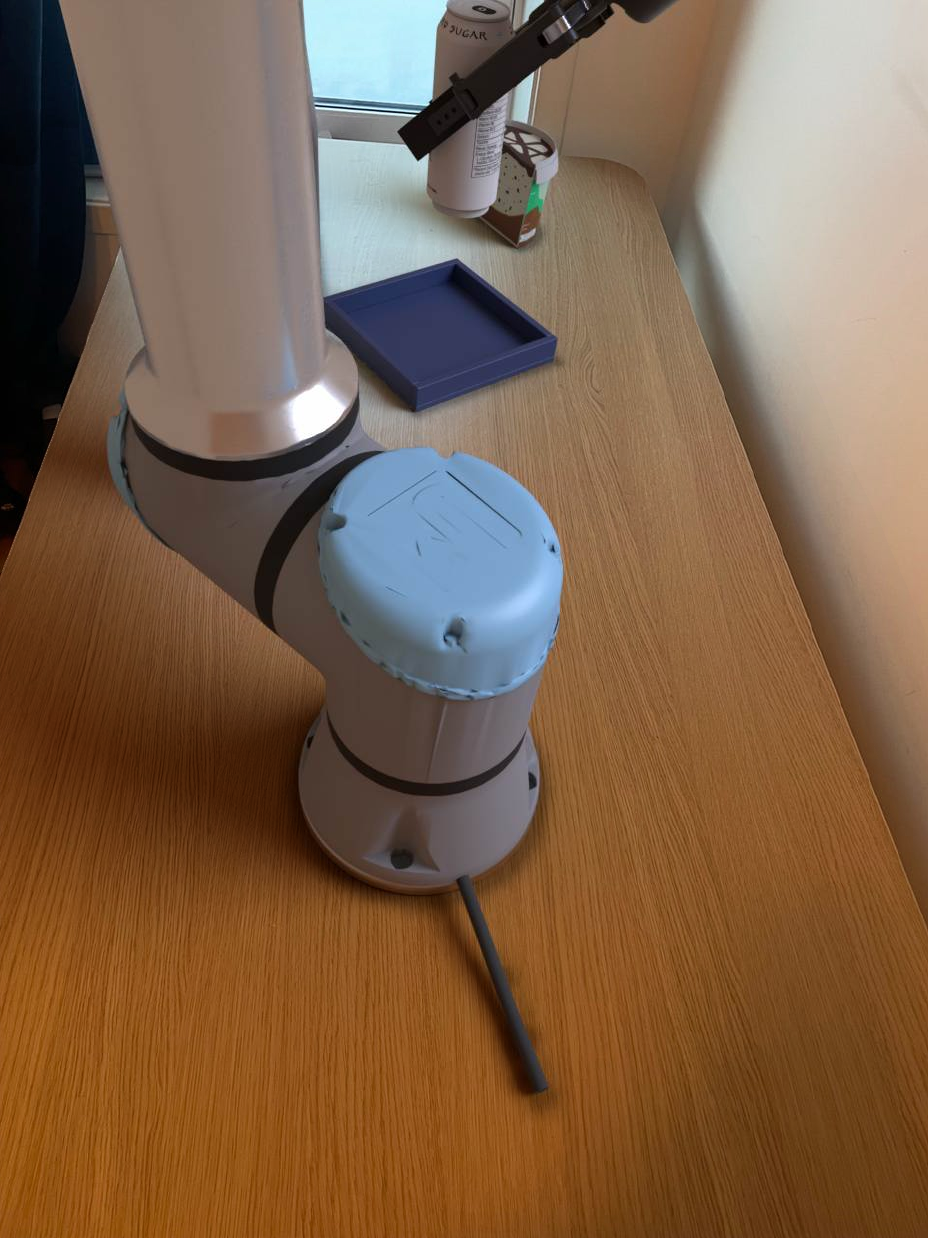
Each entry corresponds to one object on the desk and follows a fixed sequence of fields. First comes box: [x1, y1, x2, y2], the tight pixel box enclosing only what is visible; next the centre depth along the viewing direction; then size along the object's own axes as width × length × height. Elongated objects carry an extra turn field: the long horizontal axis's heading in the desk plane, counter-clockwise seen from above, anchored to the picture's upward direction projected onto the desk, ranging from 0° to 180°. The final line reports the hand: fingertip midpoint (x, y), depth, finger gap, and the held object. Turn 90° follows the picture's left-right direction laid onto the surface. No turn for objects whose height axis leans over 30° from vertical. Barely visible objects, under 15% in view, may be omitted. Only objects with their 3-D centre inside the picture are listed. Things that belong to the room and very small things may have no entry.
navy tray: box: [323, 257, 559, 413], centre depth 92 cm, size 17×17×3 cm
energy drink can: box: [426, 0, 516, 219], centre depth 75 cm, size 6×6×15 cm
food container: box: [477, 118, 559, 249], centre depth 106 cm, size 12×6×10 cm, turn 34°
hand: (425, 129), depth 77 cm, fingers closed on energy drink can, 6 cm apart
